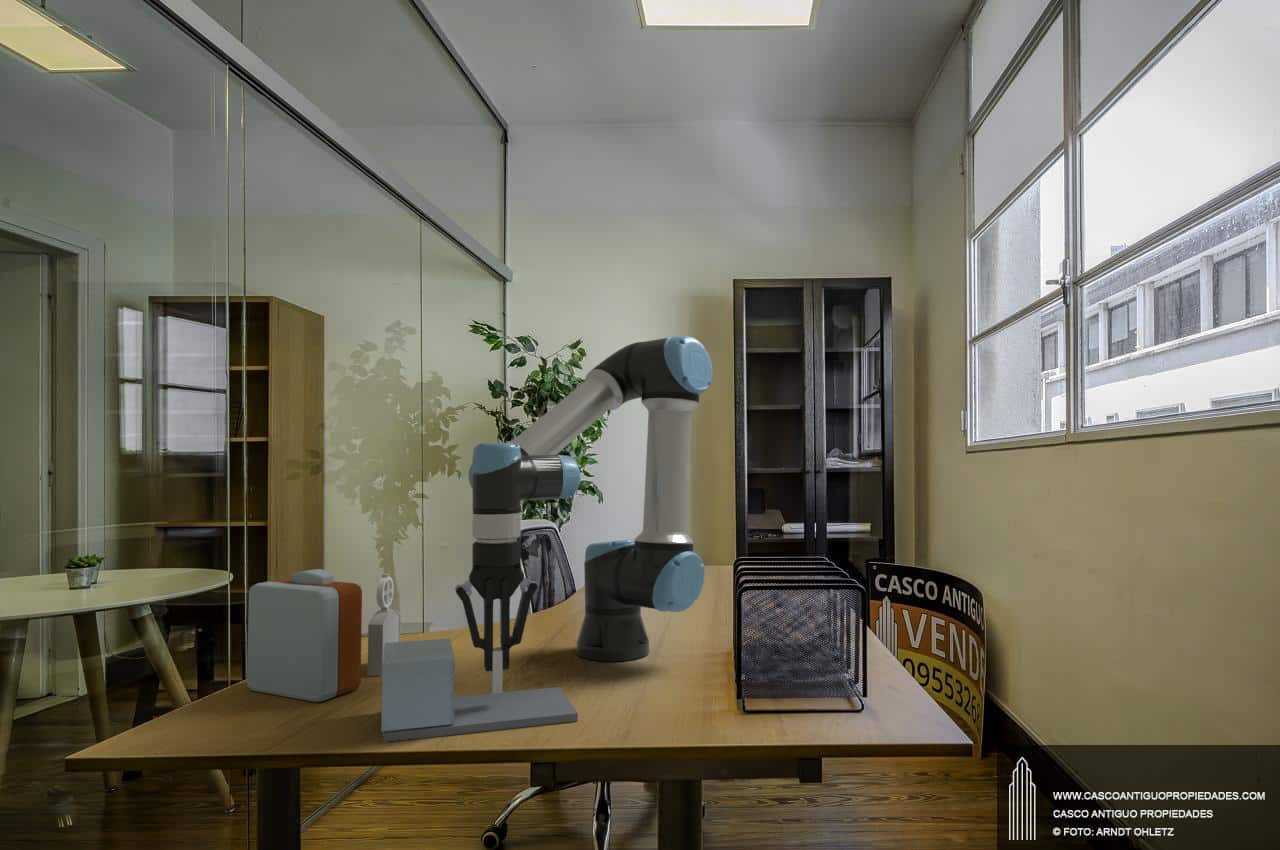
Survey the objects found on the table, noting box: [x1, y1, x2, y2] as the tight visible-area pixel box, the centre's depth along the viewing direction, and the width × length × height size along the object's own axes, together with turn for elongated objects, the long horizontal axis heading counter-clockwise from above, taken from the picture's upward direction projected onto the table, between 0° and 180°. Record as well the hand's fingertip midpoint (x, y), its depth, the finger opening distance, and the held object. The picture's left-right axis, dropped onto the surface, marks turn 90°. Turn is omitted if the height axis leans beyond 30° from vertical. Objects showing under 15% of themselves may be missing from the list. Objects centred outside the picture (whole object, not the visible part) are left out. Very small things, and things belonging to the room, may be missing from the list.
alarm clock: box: [246, 568, 363, 703], centre depth 129 cm, size 18×9×21 cm, turn 65°
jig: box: [382, 686, 579, 743], centre depth 115 cm, size 28×14×5 cm, turn 107°
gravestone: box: [367, 573, 401, 677], centre depth 143 cm, size 3×9×18 cm, turn 179°
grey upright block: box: [380, 637, 456, 733], centre depth 113 cm, size 10×13×9 cm
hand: (496, 690), depth 116 cm, fingers closed
